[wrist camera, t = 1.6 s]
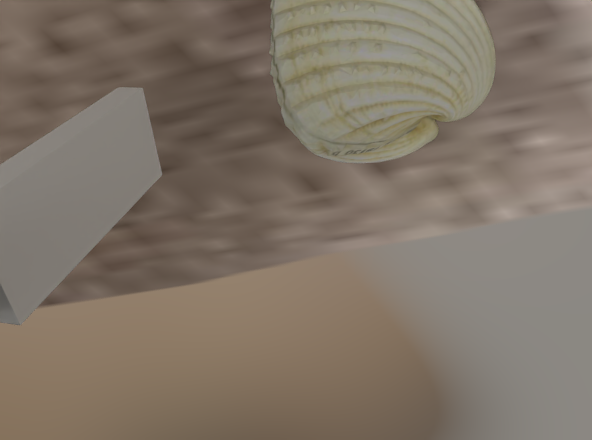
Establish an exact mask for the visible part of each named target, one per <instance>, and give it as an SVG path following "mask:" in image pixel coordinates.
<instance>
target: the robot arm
mask: <svg viewBox="0 0 592 440" xmlns="http://www.w3.org/2000/svg"><path fill="white" fill-rule="evenodd" d="M161 176H162V171H161V167H160V162H159V158H158V153H157V149H156V144H155V140H154V135H153V131H152V127H151V122H150V118H149V113H148V109H147V104H146V100H145V95H144V91H143V88H128V87H118V88H117V89H115V90H114V91H112V92H110V93H109V94H107V95H106V96H104V97H103V98H101V99H100V100H98V101H97V102H95V103H94V104H92V105H91V106H89V107H88V108H86V109H85V110H83V111H81V112H80V113H78V114H77V115H75V116H74V117H72V118H71V119H69V120H68V121H66V122H65V123H63V124H62V125H60V126H59V127H57V128H55V129H54V130H52V131H51V132H49V133H48V134H46V135H45V136H43V137H42V138H40V139H39V140H37V141H36V142H34V143H33V144H31V145H30V146H28V147H26V148H25V149H23V150H22V151H20V152H19V153H17V154H16V155H14V156H13V157H11V158H10V159H8V160H7V161H5V162H4V163H2V164H0V322H1V323H8V324H16V325H21V324H22V323H23V322H24V321H25V320H26V319H27V318H28V317H29V315H30V314H31V313H32V312H33V311H34V310H35V309H36V308H37V307H38V306H39V305H40V304H41V303H42V302H43V301H44V300H45V299H46V298H47V296H48V295H49V294H50V293H51V292H52V291H53V290H54V289H55V288H56V287H57V286H58V285H59V284H60V283H61V282H62V281H63V280H64V278H65V277H66V276H67V275H68V274H69V273H70V272H71V271H72V270H73V269H74V268H75V267H76V266H77V265H78V264H79V263H80V261H81V260H82V259H83V258H84V257H85V256H86V255H87V254H88V253H89V252H90V251H91V250H92V249H93V248H94V247H95V246H96V245H97V243H98V242H99V241H100V240H101V239H102V238H103V237H104V236H105V235H106V234H107V233H108V232H109V231H110V230H111V229H112V228H113V226H114V225H115V224H116V223H117V222H118V221H119V220H120V219H121V218H122V217H123V216H124V215H125V214H126V213H127V212H128V211H129V210H130V208H131V207H132V206H133V205H134V204H135V203H136V202H137V201H138V200H139V199H140V198H141V197H142V196H143V195H144V194H145V193H146V192H147V190H148V189H149V188H150V187H151V186H152V185H153V184H154V183H155V182H156V181H157V180H158V179H159V178H160V177H161Z"/></svg>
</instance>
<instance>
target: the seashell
mask: <svg viewBox="0 0 592 440" xmlns="http://www.w3.org/2000/svg"><path fill="white" fill-rule="evenodd" d="M270 8H271V9H272V13H271V25H270V28H271V29H272V33H271V47H270V51H269V53H270V54H271V55H272V56H273V58H272V62H271V67H272V69H271V72H270V74H271V76H272V77H273V78H274V79H273V83H274V85H275V89H276V94H277V97H278V98H277V101H278V103H279V105H280V107H281V108H282V109H281V113H282V116H283V119H284V123H285V125H286V127H288V128H289V129H290V130H291V131H292V132H293V133H294V135H295V136H296V137H297V138H298V139H299V140H300V142H301V143H302V144H303V145H304V146H305V147H306V148H307V149H308V150H310V151H311V152H312V153H313V154H315V155H317V156H320V157H322V158H326V159H330V160H333V161H338V162H345V163H372V162H383V161H388V160H392V159H397V158H400V157H403V156H405V155H408V154H410V153H412V152H414V151H416V150H418V149H420V148H421V147H422V146H424V145H425V144H427V143H429V142H431V141H432V140H434V139H435V138H436V136H437V134H438V130H439V128H438V126H437V123H436V121H435V120H438V121H443V122H451V121H456V120H460V119H462V118H464V117H467V116H469V115H470V114H471V113H473V112H474V111H475V110H476V109H477V108H478V107H479V106H480V105H481V104H482V103H483V101H484V100H485V98H486V97H487V95H488V93H489V91H490V89H491V86H492V84H493V79H494V75H495V49H494V43H493V38H492V36H491V33H490V30H489V27H488V25H487V23H486V21H485V18H484V16H483V14H482V12H481V11H480V9H479V7H478V6H477V4H476V3H475V1H474V0H272V1H271V5H270ZM434 119H435V120H434Z"/></svg>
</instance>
